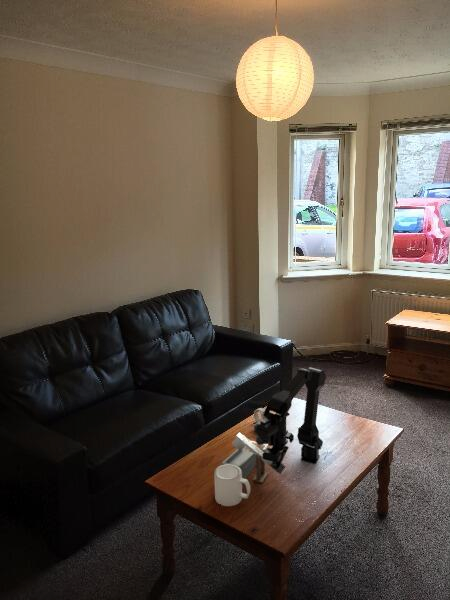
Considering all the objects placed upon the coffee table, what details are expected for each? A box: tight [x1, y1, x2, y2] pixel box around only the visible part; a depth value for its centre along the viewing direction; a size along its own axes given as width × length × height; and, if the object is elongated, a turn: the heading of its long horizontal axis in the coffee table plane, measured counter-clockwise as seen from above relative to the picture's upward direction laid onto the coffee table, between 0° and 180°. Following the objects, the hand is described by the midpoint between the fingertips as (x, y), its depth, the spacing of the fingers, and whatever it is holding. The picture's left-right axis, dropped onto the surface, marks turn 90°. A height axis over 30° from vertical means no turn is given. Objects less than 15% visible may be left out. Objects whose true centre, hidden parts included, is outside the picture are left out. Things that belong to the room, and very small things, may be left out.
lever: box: [231, 431, 286, 475], centre depth 188 cm, size 22×5×6 cm
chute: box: [221, 448, 256, 479], centre depth 192 cm, size 8×18×8 cm, turn 153°
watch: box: [253, 407, 266, 433], centre depth 225 cm, size 6×8×11 cm
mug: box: [213, 464, 251, 507], centre depth 176 cm, size 14×10×11 cm
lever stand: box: [252, 449, 269, 484], centre depth 188 cm, size 4×6×11 cm, turn 153°
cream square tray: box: [243, 440, 269, 452], centre depth 205 cm, size 10×10×4 cm
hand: (278, 465), depth 184 cm, fingers closed, pressing on lever
